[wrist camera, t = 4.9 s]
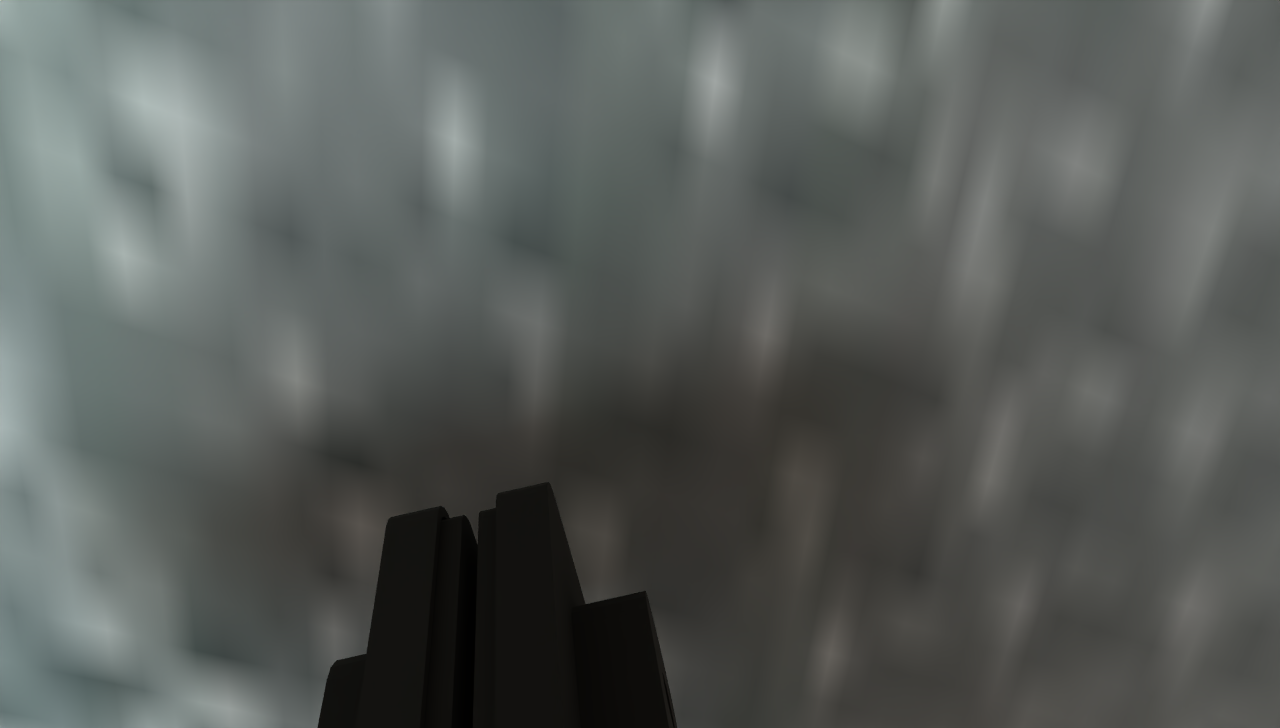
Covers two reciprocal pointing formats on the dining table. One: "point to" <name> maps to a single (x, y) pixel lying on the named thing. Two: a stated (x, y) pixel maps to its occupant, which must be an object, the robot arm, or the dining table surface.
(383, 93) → the dining table surface
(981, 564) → the dining table surface
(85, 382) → the dining table surface
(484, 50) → the dining table surface
